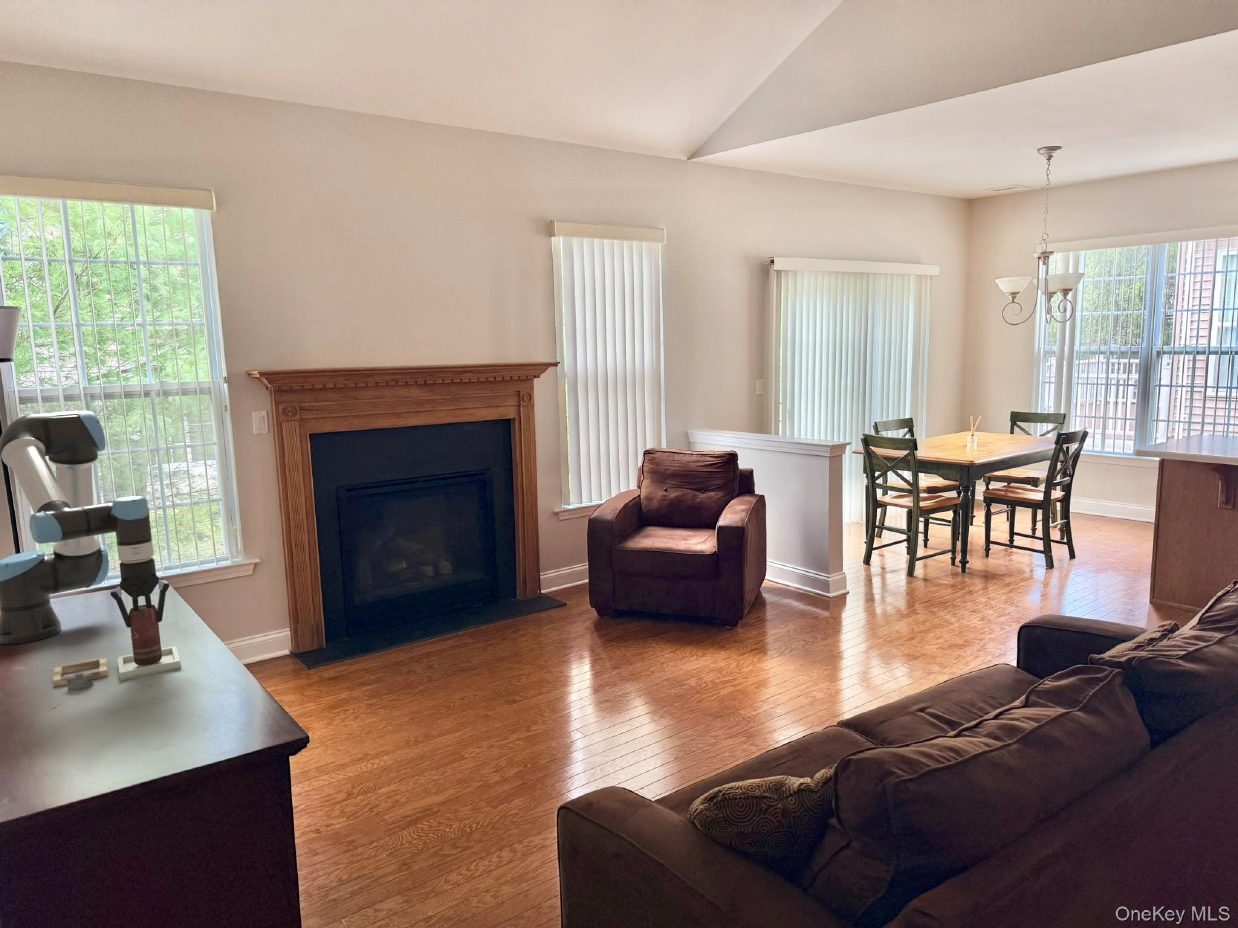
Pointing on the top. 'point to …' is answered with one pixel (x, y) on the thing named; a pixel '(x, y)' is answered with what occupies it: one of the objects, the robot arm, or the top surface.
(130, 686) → the top surface
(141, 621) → the can
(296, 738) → the top surface
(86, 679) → the collar block
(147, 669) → the tray
